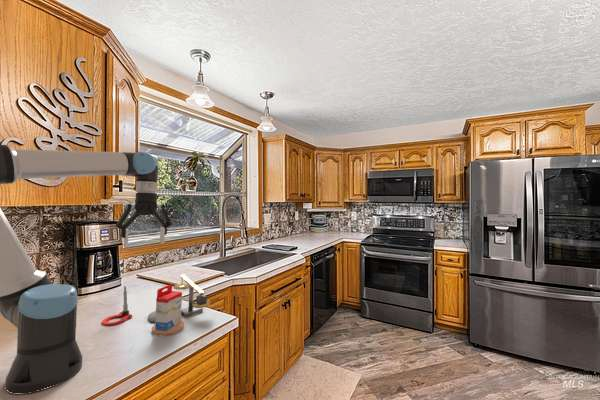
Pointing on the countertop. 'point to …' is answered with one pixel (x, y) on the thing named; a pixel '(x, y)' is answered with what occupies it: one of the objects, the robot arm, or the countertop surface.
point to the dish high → (152, 317)
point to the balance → (200, 299)
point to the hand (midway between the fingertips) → (144, 244)
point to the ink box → (168, 308)
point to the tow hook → (123, 314)
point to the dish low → (169, 330)
